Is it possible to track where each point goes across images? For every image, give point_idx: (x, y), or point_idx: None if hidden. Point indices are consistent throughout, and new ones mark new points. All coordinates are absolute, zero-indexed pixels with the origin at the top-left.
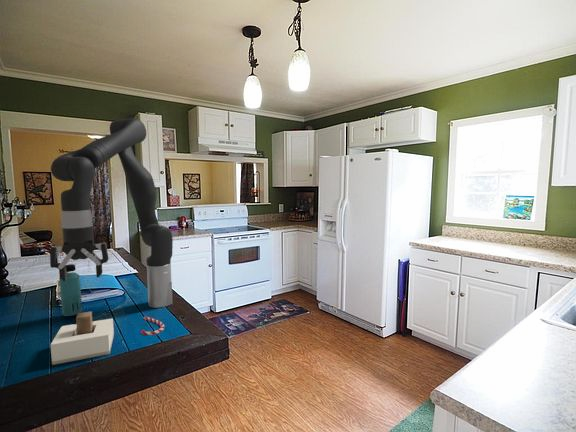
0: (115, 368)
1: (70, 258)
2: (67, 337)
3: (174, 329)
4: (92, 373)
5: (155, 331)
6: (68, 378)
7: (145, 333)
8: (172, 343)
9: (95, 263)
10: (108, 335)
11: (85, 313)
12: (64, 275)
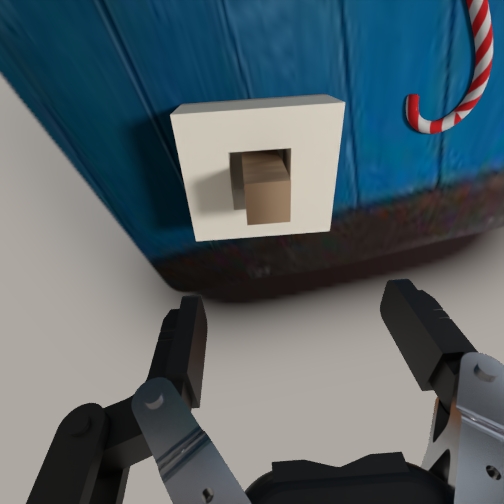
0: (327, 261)
1: (225, 471)
2: (224, 214)
3: (499, 117)
4: (289, 264)
5: (445, 128)
6: (251, 267)
7: (415, 127)
8: (455, 202)
9: (433, 416)
10: (329, 227)
11: (271, 195)
12: (202, 361)
